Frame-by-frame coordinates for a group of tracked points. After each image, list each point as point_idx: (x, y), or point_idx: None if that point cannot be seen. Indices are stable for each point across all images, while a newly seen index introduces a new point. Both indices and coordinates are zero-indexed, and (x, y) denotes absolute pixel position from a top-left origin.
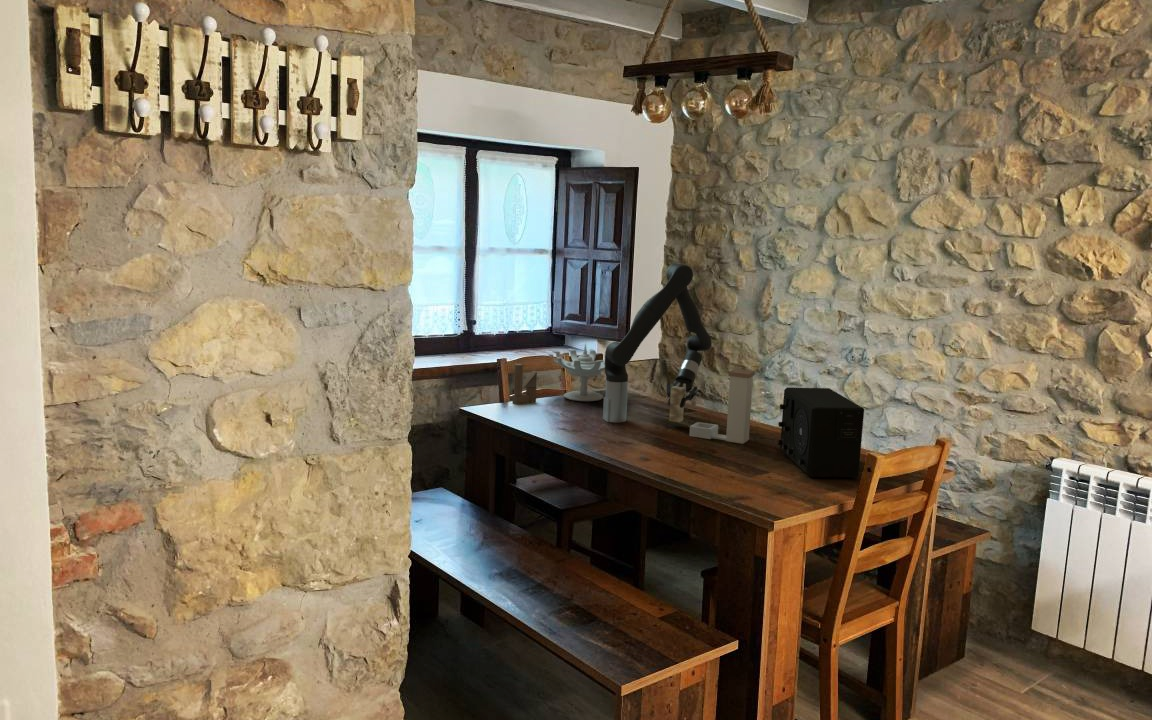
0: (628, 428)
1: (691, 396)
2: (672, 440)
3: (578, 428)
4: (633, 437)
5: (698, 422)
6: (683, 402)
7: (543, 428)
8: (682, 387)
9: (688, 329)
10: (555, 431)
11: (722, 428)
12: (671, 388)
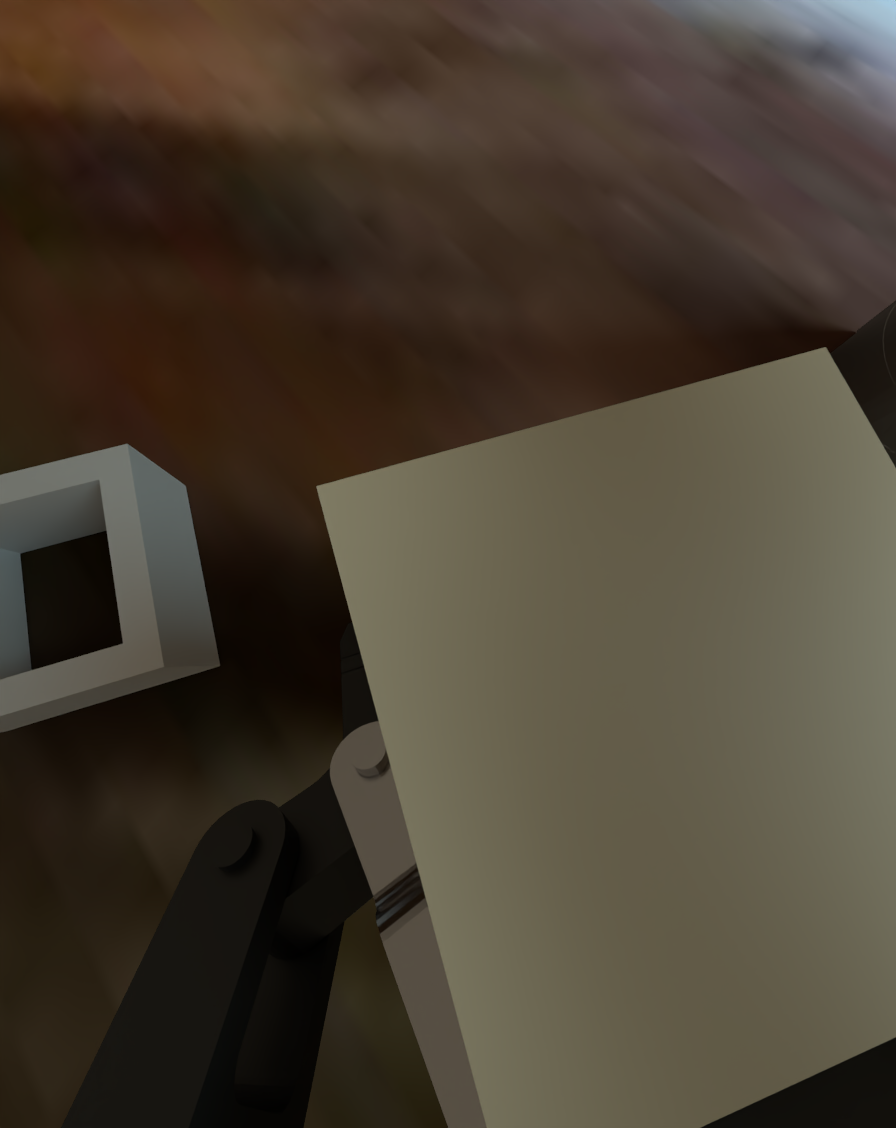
0: (641, 318)
1: (275, 1031)
2: (209, 297)
3: (800, 112)
4: (441, 181)
5: (144, 653)
6: (356, 661)
7: (884, 3)
8: (613, 1016)
9: None
10: (798, 2)
11: (91, 1031)
12: (781, 373)
